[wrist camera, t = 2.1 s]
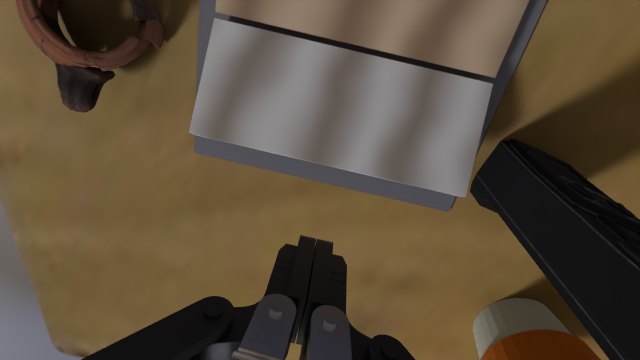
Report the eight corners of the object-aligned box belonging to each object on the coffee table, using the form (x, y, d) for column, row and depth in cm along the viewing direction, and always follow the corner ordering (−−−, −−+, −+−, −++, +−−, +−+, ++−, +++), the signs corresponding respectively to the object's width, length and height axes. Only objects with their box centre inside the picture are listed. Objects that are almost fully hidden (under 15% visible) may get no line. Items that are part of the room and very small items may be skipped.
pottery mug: (40, -47, 26) (-9, -98, 19) (168, -10, 30) (167, -40, 23) (41, 102, 29) (-3, 107, 21) (159, 118, 33) (156, 127, 26)
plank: (481, 89, 27) (493, 83, 25) (455, 195, 27) (465, 197, 25) (221, 28, 26) (214, 17, 25) (197, 135, 27) (188, 132, 25)
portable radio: (579, 167, 29) (1311, 632, 7) (534, 218, 32) (959, 674, 10) (504, 133, 29) (1052, 526, 6) (464, 187, 31) (749, 603, 9)
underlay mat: (568, -50, 23) (570, -51, 22) (448, 210, 32) (448, 211, 32) (207, -137, 22) (205, -139, 22) (195, 151, 32) (194, 152, 32)
